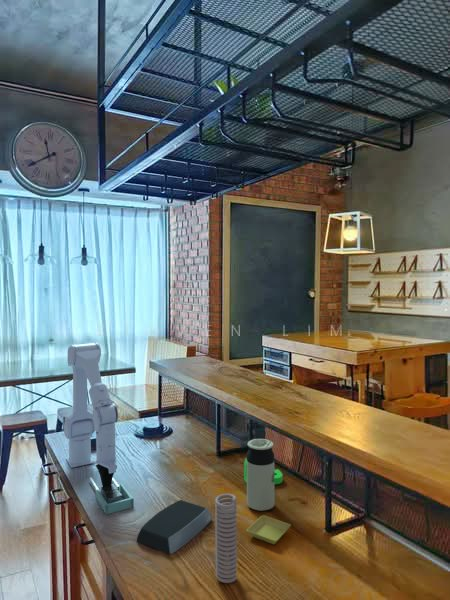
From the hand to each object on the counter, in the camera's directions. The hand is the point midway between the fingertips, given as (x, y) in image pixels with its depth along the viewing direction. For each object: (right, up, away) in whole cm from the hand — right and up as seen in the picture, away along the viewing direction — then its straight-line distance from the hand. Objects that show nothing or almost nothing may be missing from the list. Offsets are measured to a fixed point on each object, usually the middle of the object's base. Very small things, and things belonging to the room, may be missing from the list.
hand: (106, 487), depth 134 cm
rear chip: (+2, -1, -2) cm, 3 cm away
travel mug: (+47, -1, -9) cm, 48 cm away
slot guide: (-1, -1, +3) cm, 3 cm away
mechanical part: (+50, -1, +6) cm, 50 cm away
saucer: (+48, -2, -23) cm, 54 cm away
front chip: (+4, -1, -6) cm, 7 cm away
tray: (+4, -1, -7) cm, 8 cm away
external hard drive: (+24, -3, -21) cm, 32 cm away
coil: (+37, -3, -40) cm, 54 cm away
